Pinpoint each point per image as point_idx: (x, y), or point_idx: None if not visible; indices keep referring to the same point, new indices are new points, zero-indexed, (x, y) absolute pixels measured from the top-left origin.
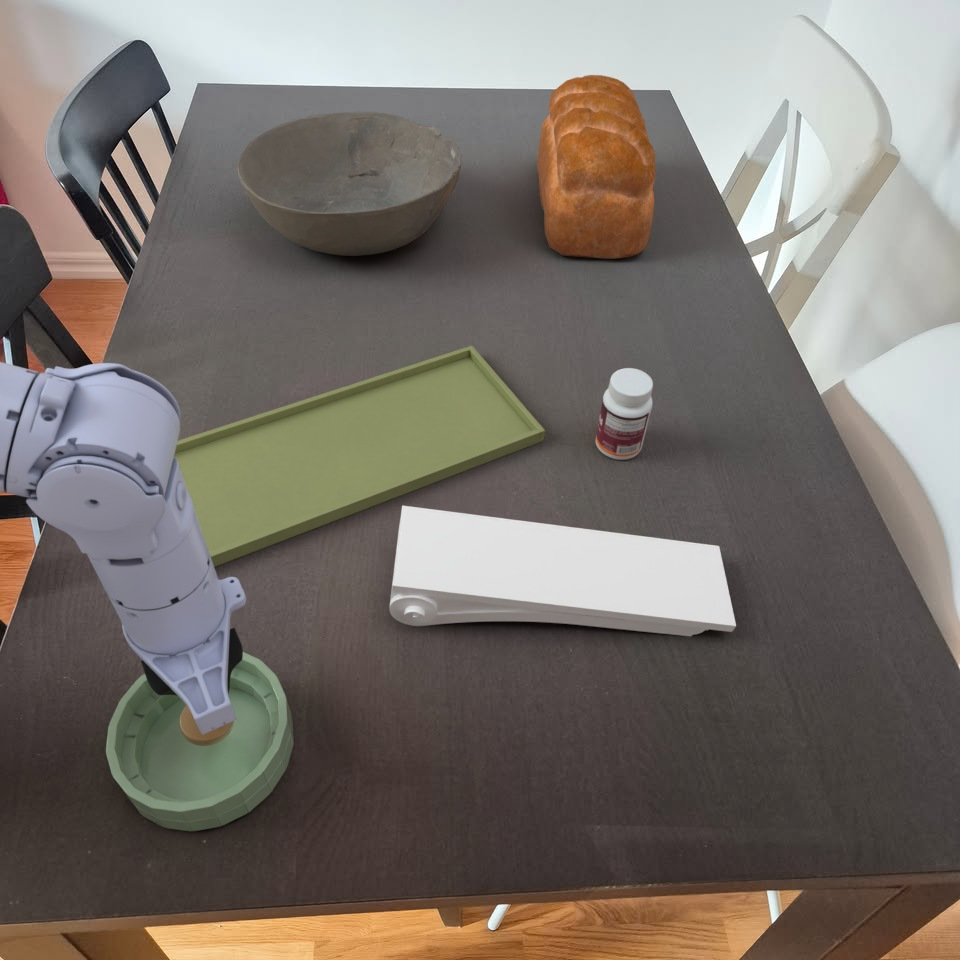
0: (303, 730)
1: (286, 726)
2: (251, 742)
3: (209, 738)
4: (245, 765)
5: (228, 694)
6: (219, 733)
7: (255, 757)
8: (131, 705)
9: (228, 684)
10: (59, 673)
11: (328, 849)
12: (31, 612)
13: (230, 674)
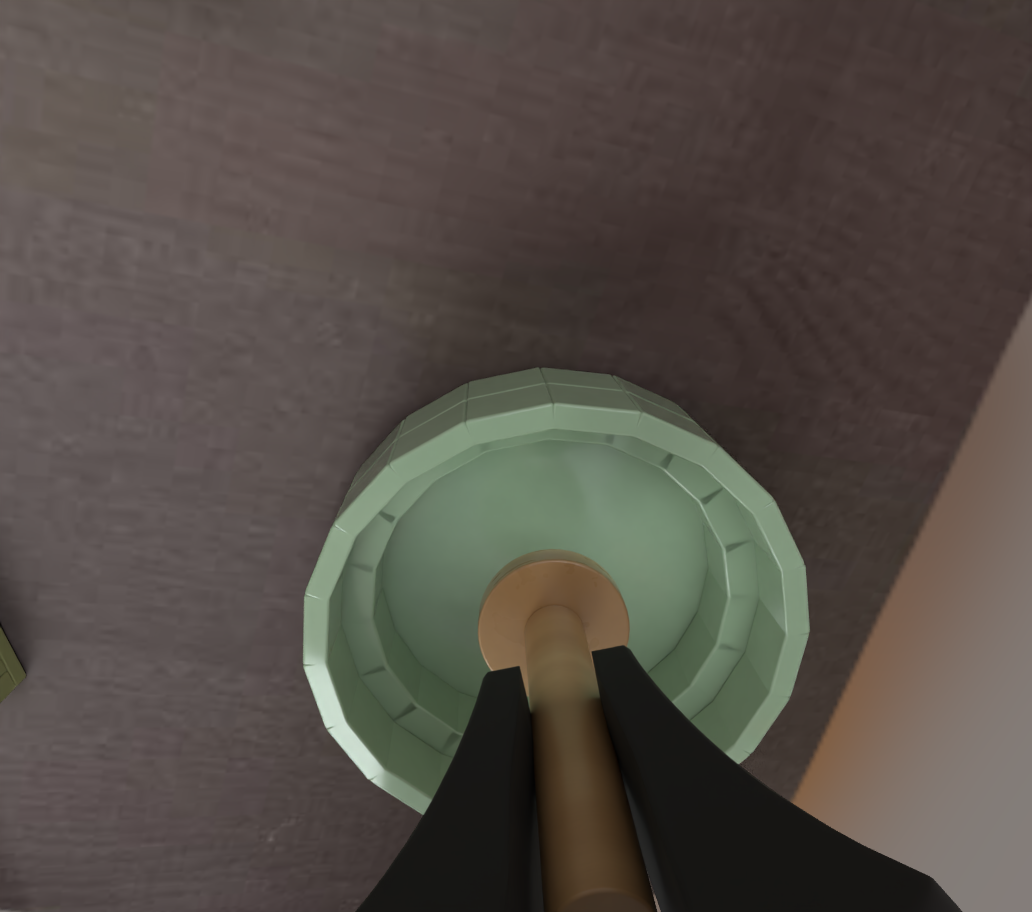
0: (570, 340)
1: (650, 413)
2: (571, 479)
3: (624, 629)
4: (628, 499)
5: (625, 648)
6: (618, 603)
7: (614, 474)
8: (436, 779)
9: (668, 699)
10: (258, 849)
11: (905, 331)
12: (74, 906)
13: (734, 761)
